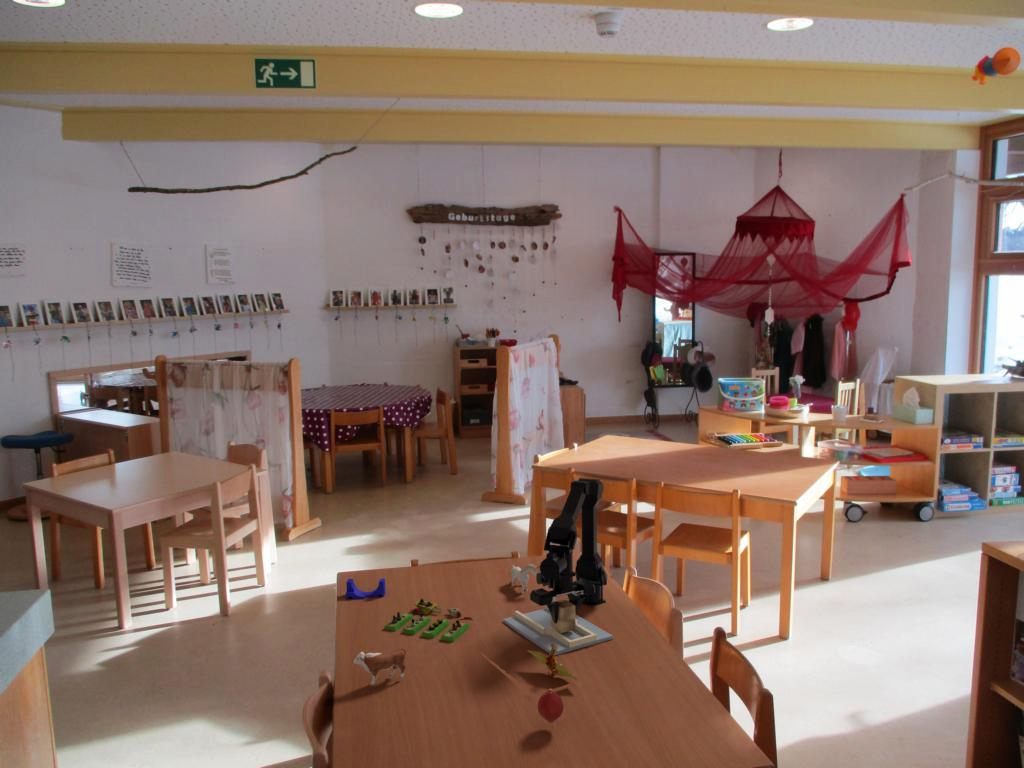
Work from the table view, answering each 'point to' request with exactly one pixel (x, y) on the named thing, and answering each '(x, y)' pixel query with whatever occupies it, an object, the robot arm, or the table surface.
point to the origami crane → (552, 662)
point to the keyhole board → (544, 635)
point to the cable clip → (359, 594)
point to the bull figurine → (382, 662)
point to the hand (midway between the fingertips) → (563, 621)
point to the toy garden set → (423, 621)
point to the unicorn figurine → (522, 575)
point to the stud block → (565, 617)
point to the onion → (550, 706)
